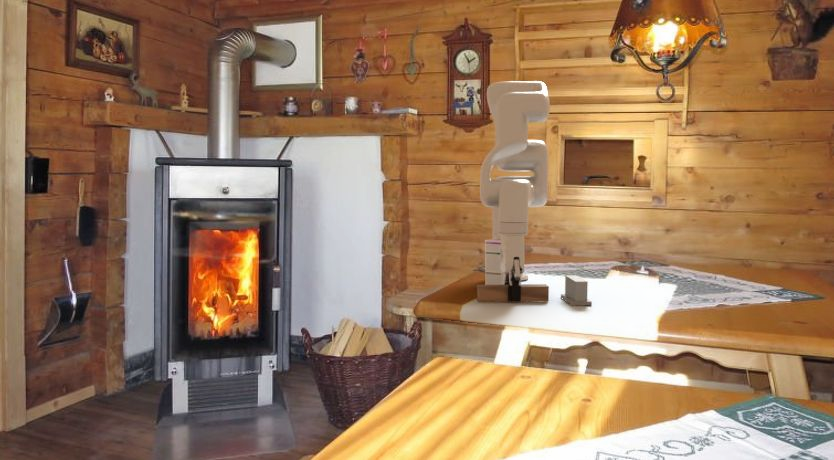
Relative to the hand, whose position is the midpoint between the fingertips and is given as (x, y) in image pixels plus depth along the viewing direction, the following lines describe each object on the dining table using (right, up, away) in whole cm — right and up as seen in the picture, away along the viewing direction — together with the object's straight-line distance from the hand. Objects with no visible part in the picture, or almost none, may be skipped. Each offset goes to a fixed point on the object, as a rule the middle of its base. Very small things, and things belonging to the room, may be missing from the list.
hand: (512, 298), depth 183 cm
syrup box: (-2, +1, +16) cm, 16 cm away
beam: (0, -1, 0) cm, 1 cm away
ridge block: (+16, -1, -1) cm, 16 cm away
